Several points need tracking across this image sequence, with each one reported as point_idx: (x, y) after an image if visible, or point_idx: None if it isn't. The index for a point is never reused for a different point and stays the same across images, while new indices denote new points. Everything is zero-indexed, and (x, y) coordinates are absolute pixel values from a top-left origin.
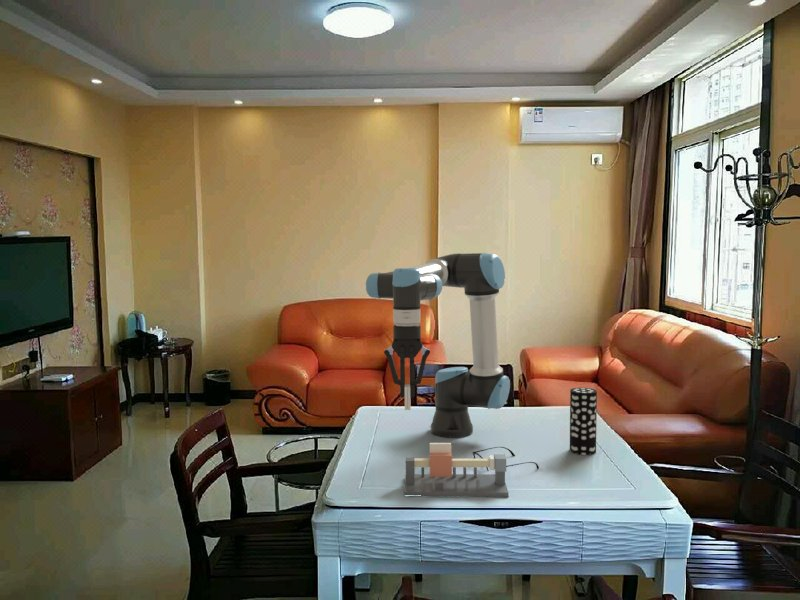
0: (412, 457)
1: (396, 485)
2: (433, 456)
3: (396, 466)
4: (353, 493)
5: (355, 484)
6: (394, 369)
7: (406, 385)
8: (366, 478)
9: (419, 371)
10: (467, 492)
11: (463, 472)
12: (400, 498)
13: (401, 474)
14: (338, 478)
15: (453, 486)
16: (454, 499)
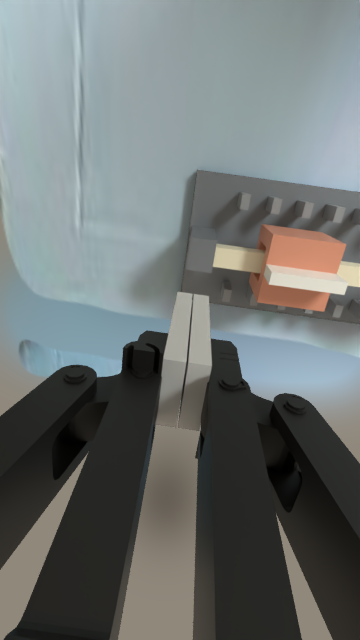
0: (210, 241)
1: (168, 223)
2: (267, 303)
3: (179, 44)
4: (67, 262)
5: (65, 202)
6: (2, 553)
7: (174, 389)
8: (89, 158)
9: (308, 569)
10: (322, 318)
11: (357, 222)
12: (172, 303)
13: (188, 133)
14: (12, 148)
15: None
16: (286, 323)
